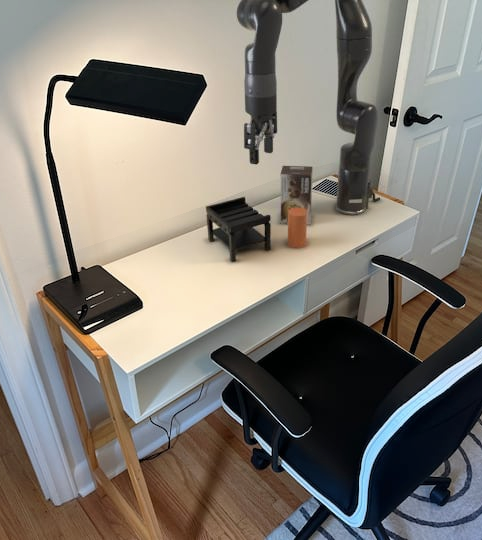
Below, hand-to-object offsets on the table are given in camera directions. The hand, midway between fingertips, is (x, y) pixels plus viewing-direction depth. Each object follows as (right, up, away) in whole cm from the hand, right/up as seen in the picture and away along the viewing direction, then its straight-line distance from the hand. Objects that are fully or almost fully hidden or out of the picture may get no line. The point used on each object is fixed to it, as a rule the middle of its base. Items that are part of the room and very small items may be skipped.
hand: (261, 157), depth 129 cm
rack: (-7, -21, +14) cm, 26 cm away
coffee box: (+9, -13, +27) cm, 31 cm away
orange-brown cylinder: (+9, -21, +15) cm, 27 cm away
